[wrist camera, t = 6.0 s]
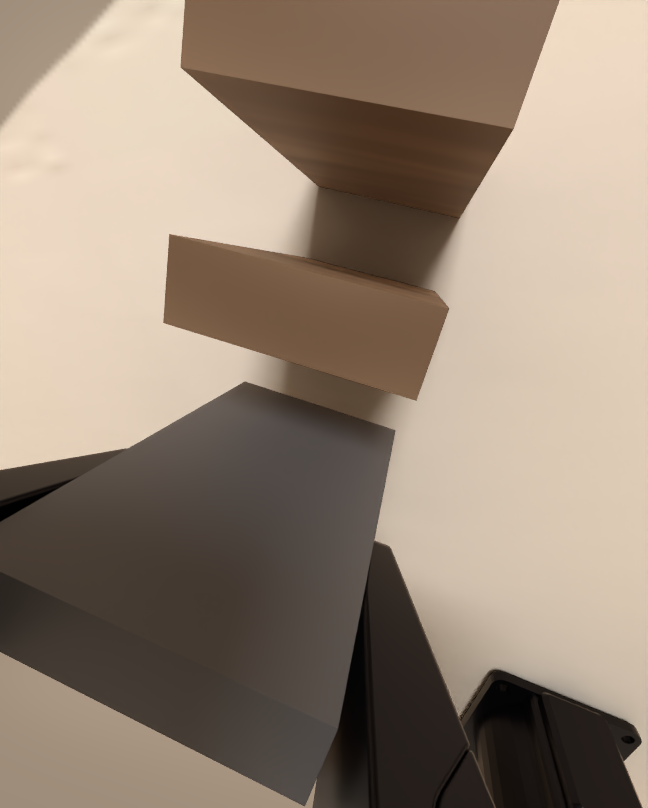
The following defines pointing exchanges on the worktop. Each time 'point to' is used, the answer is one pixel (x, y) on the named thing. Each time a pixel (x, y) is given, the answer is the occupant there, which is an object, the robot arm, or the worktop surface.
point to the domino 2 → (305, 312)
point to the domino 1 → (374, 86)
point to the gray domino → (209, 579)
